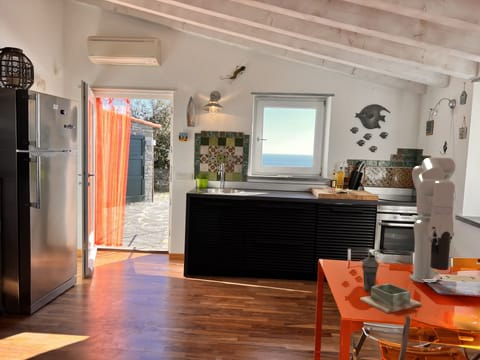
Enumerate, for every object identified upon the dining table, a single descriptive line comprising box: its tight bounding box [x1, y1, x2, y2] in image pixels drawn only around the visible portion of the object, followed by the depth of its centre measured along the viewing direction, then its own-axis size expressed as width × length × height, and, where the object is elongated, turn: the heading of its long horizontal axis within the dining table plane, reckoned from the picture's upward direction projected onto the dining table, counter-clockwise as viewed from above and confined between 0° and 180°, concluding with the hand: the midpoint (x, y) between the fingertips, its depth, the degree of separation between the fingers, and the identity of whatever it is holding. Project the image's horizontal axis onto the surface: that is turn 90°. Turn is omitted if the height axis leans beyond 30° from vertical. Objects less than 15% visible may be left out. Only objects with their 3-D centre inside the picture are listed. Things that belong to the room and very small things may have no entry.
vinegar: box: [430, 231, 451, 271], centre depth 154 cm, size 7×7×20 cm
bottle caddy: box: [359, 283, 422, 314], centre depth 159 cm, size 20×15×6 cm
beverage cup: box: [361, 247, 379, 292], centre depth 175 cm, size 7×7×20 cm
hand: (440, 252), depth 154 cm, fingers closed on vinegar, 5 cm apart
